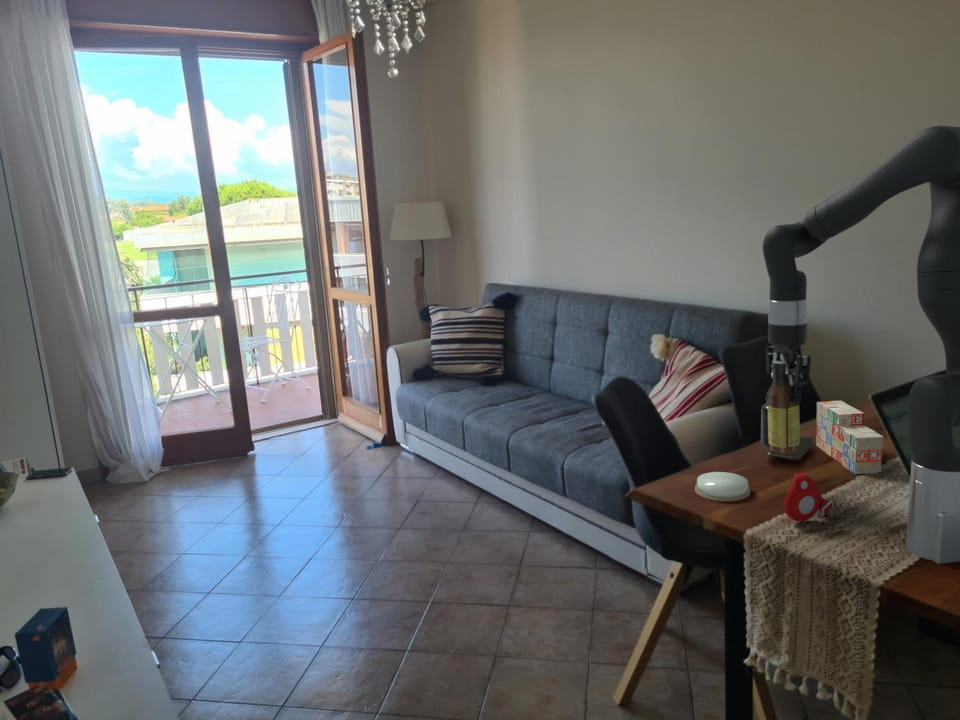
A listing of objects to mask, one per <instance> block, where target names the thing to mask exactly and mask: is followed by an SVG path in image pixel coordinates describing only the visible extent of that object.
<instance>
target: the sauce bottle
mask: <svg viewBox="0 0 960 720" xmlns="http://www.w3.org/2000/svg"><path fill="white" fill-rule="evenodd" d="M771 365H772V367H771V368H773V378H772V383H771V385H770V387H769V389H768V390H767V392H768V439H769V448H768V449H769V450H770V452H772V453H774V454H778V455H779V454H780V455H781V454H782V455H793V454H796V453H798V452H799V451H800V444H801V441H800V440H801V436H800V435H801V433H800V402H797V403H792V402H790V397H789V396H790V382H789V378H788V376H787V375H786V374H785V371H784V363H782V362H781V361H776V360H775V361H773V362H772V363H771ZM790 370H793V369H790Z"/></svg>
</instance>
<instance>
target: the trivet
mask: <svg viewBox="0 0 960 720" xmlns="http://www.w3.org/2000/svg"><path fill="white" fill-rule="evenodd" d="M694 492H695V494H696V495H698V496H700V497H702V498H703V499H706V500H710V501H714V502H722V503H723V502H725V503H726V502H727V503H729V502H730V503H731V502H739V501H743V500H745V499H747V498H748V497H750V496H751V488H750V487H749V481H748V479H747V478H745V477H744V476H742V475H740V474H738V473H737V474H736V473H734V472H732V473H731V472H726V471H725V472H724V471H712V472H706V473H702V474H700V475H698V477H697V479H696V483H695V486H694Z"/></svg>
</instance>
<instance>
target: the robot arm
mask: <svg viewBox="0 0 960 720" xmlns="http://www.w3.org/2000/svg"><path fill="white" fill-rule="evenodd" d="M927 183H929V189H930V206H931V207H930V211H931V212H930V219H929V222H928V227H927V230H926V233H925V235H924V238H923V241H922V244H921V246H920V250H919V252H918V258H917V264H916V266H917V267H916V280H917V281H916V285H917V298H918V303H919V305H920V307H921V309H922V311H923V313H924V314H925V316H926V318H927V319H928V321H929V322H930V324H931V325H932V326H933V328H934V329H935V331H936V332H937V334H938V336H939V338H940V340H941V342H942V346H943V349H944V356H945V374H936V375H930V376H924V377H921V378H918V379H917V380H916V381H915V382H914V383H913V384H912V386H911V388H910V392H909V393H908V401H907V402H908V404H907V405H908V408H907V413H908V415H907V417H908V418H907V421H908V422H907V424H908V425H907V428H908V429H907V430H908V431H907V433H908V434H907V436H908V437H907V439H908V444H909V447H910V450H911V466H910V478H909V490H908V491H909V493H908V494H909V495H908V509H907V510H908V511H907V526H906V544H905V547H906V549H907V550H908V551H909V552H910V553H911V554H913V555H914V556H916V557H919V558H921V559H924V560H928V561H932V562H935V564H938V565H942V564H949V563H955V562H956V563H957V562H960V443H959V442H955V441H954V431H953V430H954V427H955V428H956V427H960V126H950V125H935V126H930V127H928V128H925V129H923V130H921V131H919V132H917V133H916V135H914V136H912V138H910V139H909V140H908V141H906V142H905V143H904V144H903V145H902V146H901V147H899V148H898V149H897V150H896V151H894V153H892V154H891V155H889V156H888V158H886V159H885V160H883V161H882V162H881V163H880V164H879V165H877V166H875V167H874V168H872V169H871V170H870V171H868V173H866V174H865V175H863V176H862V177H860V178H859V179H858V180H857V179H856V181H854V182H853V183H851V184H850V185H848V186H846V187H845V188H843V189H841V190H840V191H838V192H836V193H835V194H833V195H831V196H830V197H828V198H826V199H824V200H822V201H821V202H819V203H818V204H816V205H814V206H813V207H812V208H810V209H809V210H808V211H807V212H806V214H805V217H804V218H802V219H801V220H799V221H797V222H794V223H787V224H778V225H775V226H772V227H771V228H769V229H768V230H767V232H766V233H765V236H764V239H763V242H762V253H763V258H764V262H765V267H766V271H767V274H768V275H767V276H768V277H769V305H768V317H767V318H768V321H767V323H768V324H767V325H768V326H767V327H768V328H767V331H768V332H767V333H768V334H767V341H768V343H769V344H771V345H770V346H765V361H766V373H767V374H770V376H771V377H770V378H772V379H773V368H772V362H773V361H775V360H776V361H781V362H782V363H784V371H785V374H786V375H787V376H788V378H789V382H790V396H789V397H790V402H792V403H797V402H798V403H801V401H802V386H803V385H805V384H809V381H810V372H811V361H812V357H811V355H804V354H803V352H802V345H804V344H806V343H807V342H808V304H807V303H808V302H807V285H808V284H807V283H808V282H807V275H806V273H805V272H803V271H802V270H798V268H797V264H796V258H801V257H804V256H806V255H808V254H810V253H812V252H814V251H815V250H817V249H818V248H820V247H821V246H822V245H824V244H825V243H826V242H827V241H828V240H829V239H831V238H833V237H835V236H838V235H839V234H841V233H843V232H845V231H847V230H849V229H850V228H853V227H854V226H856V225H858V224H859V223H861V222H862V221H864V220H865V219H866V218H867V217H869V216H870V215H871V214H872V213H874V211H876V210H877V209H878V208H879V207H880V206H882V205H883V204H884V203H885V202H887V201H889V200H890V199H891V198H893V197H895V196H897V195H899V194H901V193H903V192H905V191H908V190H911V189H913V188H916V187H918V186H921V185H924V184H927ZM790 369H792V370H790Z"/></svg>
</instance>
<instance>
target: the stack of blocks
mask: <svg viewBox="0 0 960 720" xmlns="http://www.w3.org/2000/svg"><path fill="white" fill-rule="evenodd" d="M864 424H865V413H864V412H863V411H860V410H859V409H857V408H855V407H853V406H851V405H849V404H847V403H846V402H844V401H843V400H830V401H828V400H827V401H817V402H816V435H815V444H816V445H815V446H816V447H818V448H819V449H820V450H821V451H822V452H823V453H825V454H826V455H828V456H830V457H831V458H833V460H835V461H836V462H839V464H840V465H842V466H843V467H844V468H846V469H847V470H848V471H850V472H851V473H853V474H854V475H861V474H878V472H880V473H881V472H882V462H883V461H882V460H883V458H882V457H883V447H884V436H883V435H881V434H879V433H878V432H877V431H875V430H874V429H871V428H870V427H869V426H866V425H864Z"/></svg>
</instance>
